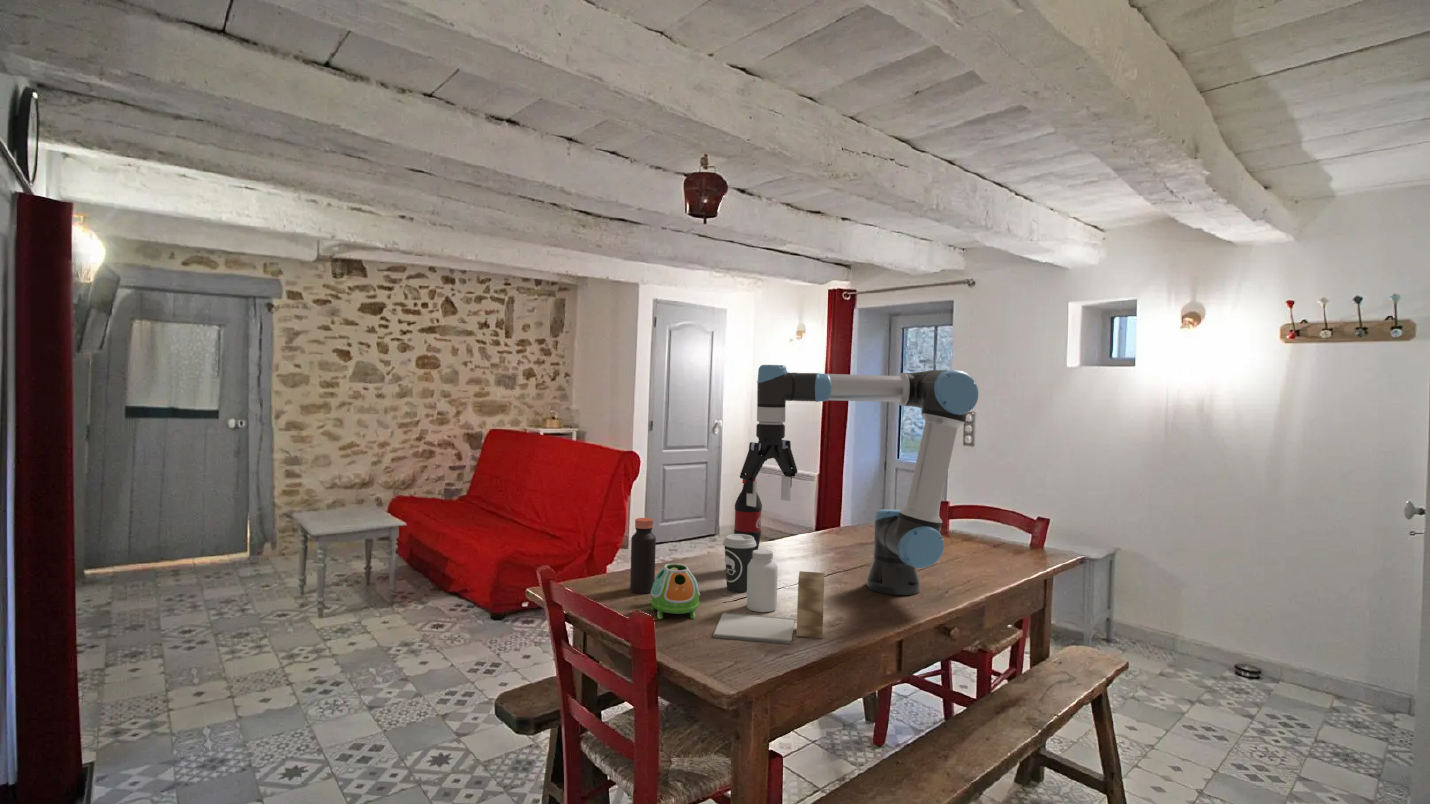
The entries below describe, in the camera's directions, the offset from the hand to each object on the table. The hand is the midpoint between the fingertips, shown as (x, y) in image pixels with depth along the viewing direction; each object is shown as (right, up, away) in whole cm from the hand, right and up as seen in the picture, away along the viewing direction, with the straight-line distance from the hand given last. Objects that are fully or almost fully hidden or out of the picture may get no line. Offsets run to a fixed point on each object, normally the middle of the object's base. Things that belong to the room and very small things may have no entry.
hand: (768, 503), depth 192 cm
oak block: (+8, -28, -20) cm, 36 cm away
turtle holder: (-25, -27, -7) cm, 37 cm away
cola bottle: (-5, -26, +34) cm, 43 cm away
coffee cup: (-8, -27, +14) cm, 31 cm away
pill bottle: (-2, -27, -2) cm, 28 cm away
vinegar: (-35, -26, +10) cm, 44 cm away
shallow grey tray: (-5, -28, -18) cm, 33 cm away
